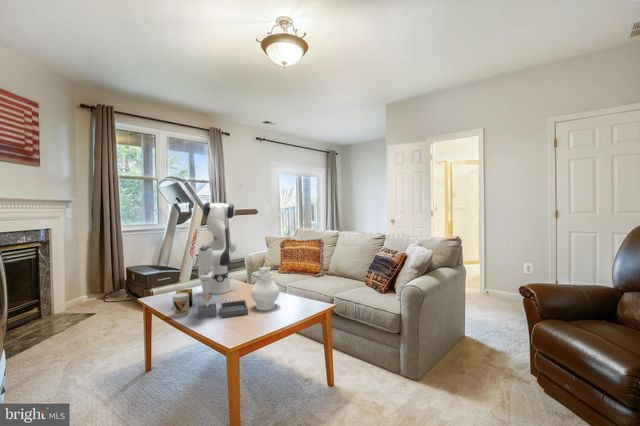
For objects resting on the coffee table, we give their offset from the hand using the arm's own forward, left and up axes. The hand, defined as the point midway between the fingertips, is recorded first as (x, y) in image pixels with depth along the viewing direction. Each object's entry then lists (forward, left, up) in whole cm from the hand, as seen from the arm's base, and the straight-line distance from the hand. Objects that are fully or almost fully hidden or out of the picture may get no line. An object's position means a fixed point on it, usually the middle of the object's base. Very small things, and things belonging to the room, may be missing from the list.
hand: (207, 296), depth 183 cm
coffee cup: (-7, -15, -11) cm, 20 cm away
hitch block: (0, 0, -11) cm, 11 cm away
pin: (0, 0, -11) cm, 11 cm away
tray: (0, +15, -11) cm, 19 cm away
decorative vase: (-1, +35, -11) cm, 37 cm away
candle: (-24, -15, -11) cm, 31 cm away
